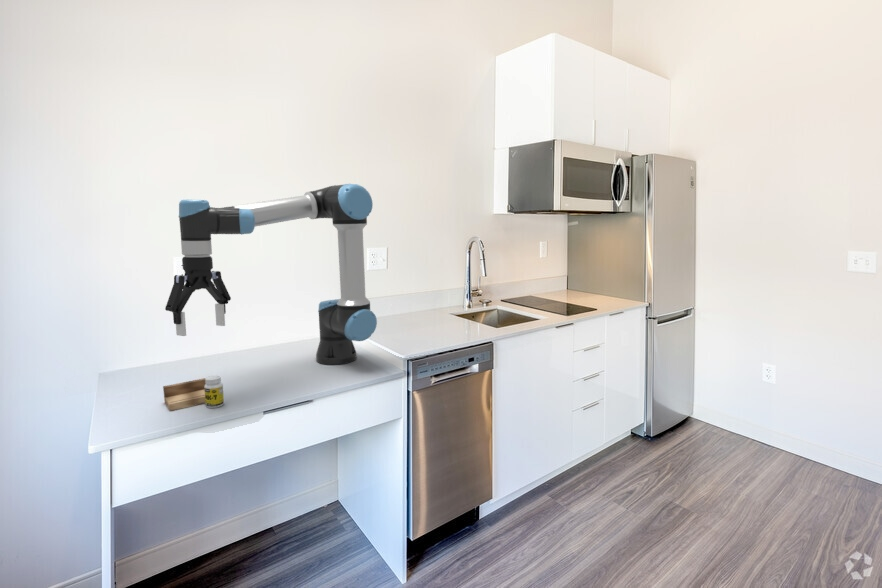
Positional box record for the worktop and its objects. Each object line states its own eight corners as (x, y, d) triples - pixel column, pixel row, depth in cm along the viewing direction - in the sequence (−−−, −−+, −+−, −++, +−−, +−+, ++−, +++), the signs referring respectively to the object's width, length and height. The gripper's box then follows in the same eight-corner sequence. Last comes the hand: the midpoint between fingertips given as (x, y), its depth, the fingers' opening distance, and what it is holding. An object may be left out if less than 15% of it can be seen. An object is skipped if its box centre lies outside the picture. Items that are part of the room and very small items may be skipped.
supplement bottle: (202, 408, 136) (200, 380, 134) (211, 401, 140) (209, 374, 139) (218, 408, 135) (216, 380, 134) (227, 402, 140) (224, 374, 139)
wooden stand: (215, 391, 148) (214, 376, 148) (222, 399, 142) (221, 383, 142) (164, 402, 140) (163, 386, 139) (169, 411, 134) (168, 394, 133)
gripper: (221, 252, 145) (225, 320, 148) (145, 258, 122) (152, 338, 125) (241, 253, 142) (244, 322, 146) (167, 259, 119) (173, 341, 123)
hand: (202, 330), depth 135 cm, fingers open, 13 cm apart
